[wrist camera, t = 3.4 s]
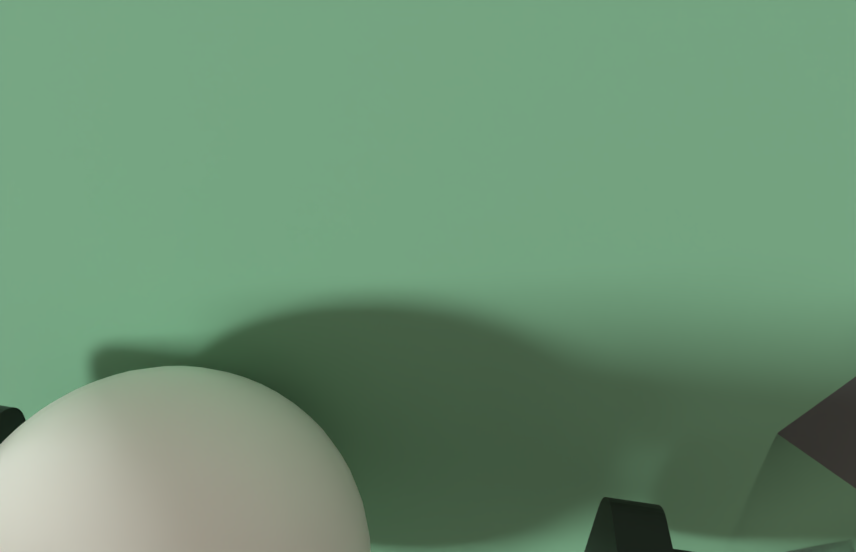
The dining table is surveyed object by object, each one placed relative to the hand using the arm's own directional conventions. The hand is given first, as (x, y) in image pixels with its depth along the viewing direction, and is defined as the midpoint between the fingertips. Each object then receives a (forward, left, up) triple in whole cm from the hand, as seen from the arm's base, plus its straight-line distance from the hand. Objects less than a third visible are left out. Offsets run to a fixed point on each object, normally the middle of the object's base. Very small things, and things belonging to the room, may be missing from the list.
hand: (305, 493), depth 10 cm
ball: (0, -1, +1) cm, 2 cm away
